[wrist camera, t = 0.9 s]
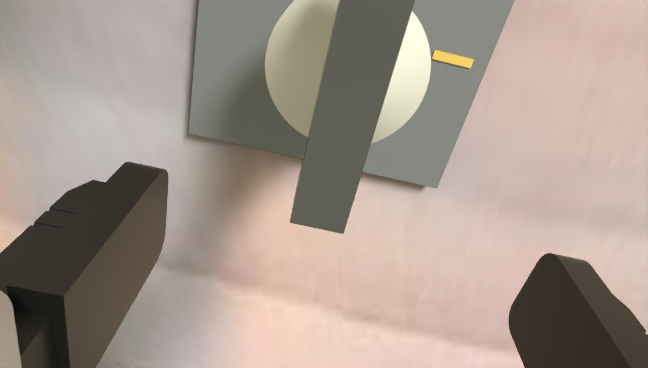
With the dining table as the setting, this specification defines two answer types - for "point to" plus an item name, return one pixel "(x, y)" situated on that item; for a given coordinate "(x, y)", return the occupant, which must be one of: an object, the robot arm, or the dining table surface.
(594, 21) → the dining table surface
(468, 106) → the post board
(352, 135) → the coupling
